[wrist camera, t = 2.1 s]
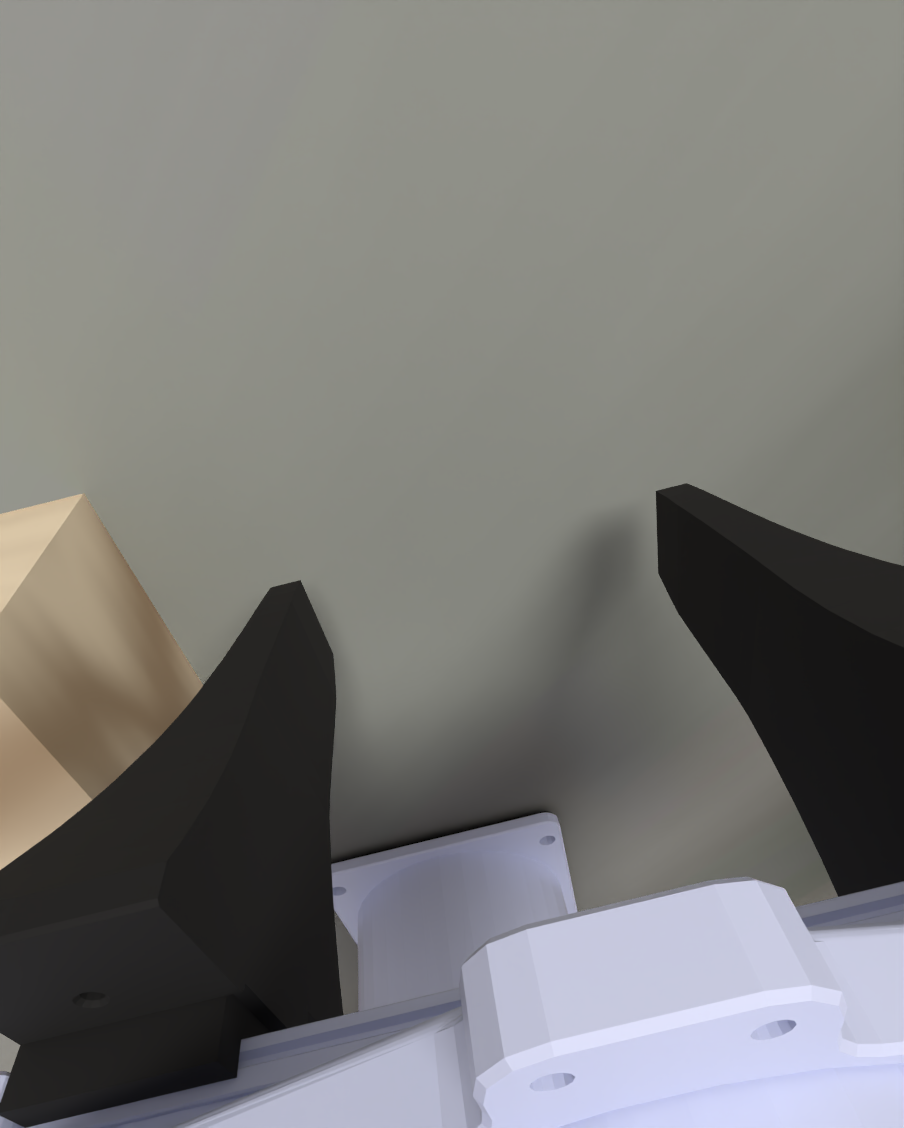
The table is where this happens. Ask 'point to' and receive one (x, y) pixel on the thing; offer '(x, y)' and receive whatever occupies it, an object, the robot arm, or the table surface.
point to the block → (74, 668)
